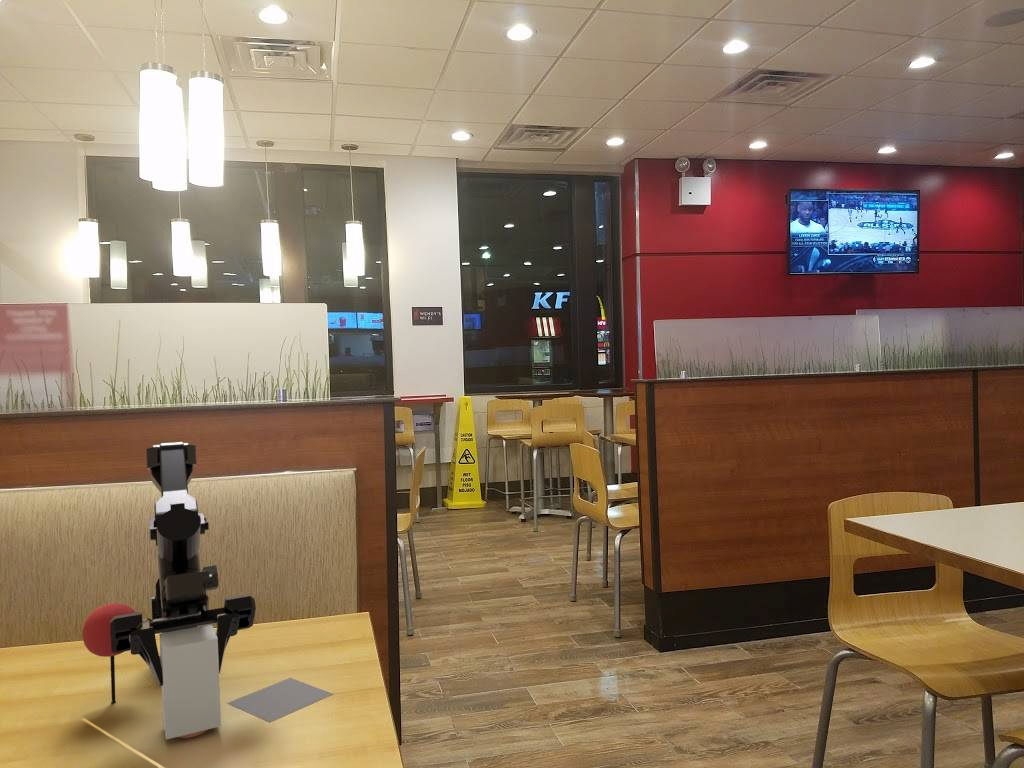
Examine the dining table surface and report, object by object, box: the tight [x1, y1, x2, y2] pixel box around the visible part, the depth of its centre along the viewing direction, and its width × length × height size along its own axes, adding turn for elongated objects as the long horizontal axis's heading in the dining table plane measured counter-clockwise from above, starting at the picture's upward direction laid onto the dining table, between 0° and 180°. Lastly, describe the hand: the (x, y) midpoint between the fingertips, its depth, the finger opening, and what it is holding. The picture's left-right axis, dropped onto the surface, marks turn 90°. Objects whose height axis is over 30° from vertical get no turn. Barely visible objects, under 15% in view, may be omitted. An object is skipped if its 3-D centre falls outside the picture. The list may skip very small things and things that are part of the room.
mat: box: [227, 677, 334, 723], centre depth 110 cm, size 11×11×1 cm
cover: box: [158, 623, 222, 740], centre depth 100 cm, size 7×7×12 cm
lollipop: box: [82, 602, 137, 704], centre depth 111 cm, size 8×8×15 cm
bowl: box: [178, 730, 207, 739], centre depth 100 cm, size 4×4×3 cm
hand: (190, 678), depth 99 cm, fingers closed on cover, 7 cm apart
